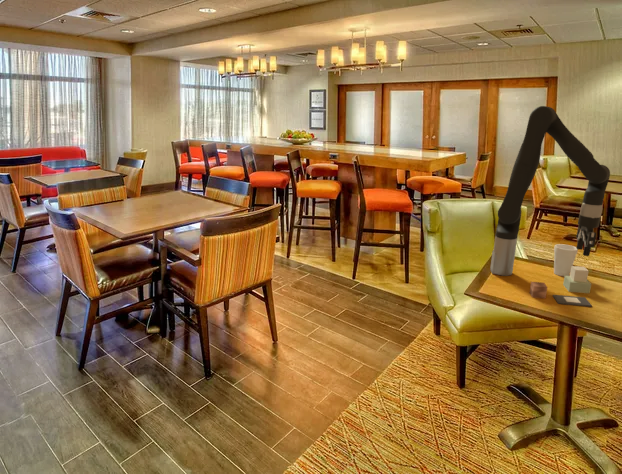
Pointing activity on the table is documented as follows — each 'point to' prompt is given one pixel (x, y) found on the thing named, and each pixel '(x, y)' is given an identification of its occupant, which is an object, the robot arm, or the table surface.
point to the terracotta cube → (538, 290)
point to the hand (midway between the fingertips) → (582, 252)
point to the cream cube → (579, 273)
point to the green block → (576, 285)
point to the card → (572, 300)
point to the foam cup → (564, 259)
